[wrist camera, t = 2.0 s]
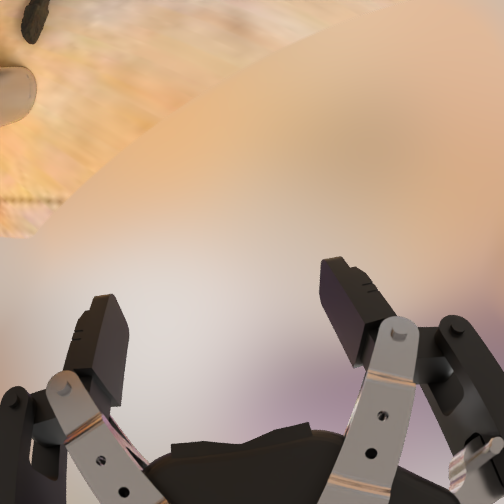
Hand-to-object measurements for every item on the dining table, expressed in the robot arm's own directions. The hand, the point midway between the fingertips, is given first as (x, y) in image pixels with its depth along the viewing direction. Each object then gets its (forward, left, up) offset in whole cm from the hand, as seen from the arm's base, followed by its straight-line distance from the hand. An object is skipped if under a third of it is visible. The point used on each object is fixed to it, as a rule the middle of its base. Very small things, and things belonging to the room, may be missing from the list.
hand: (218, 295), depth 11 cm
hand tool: (-22, +30, -36) cm, 52 cm away
